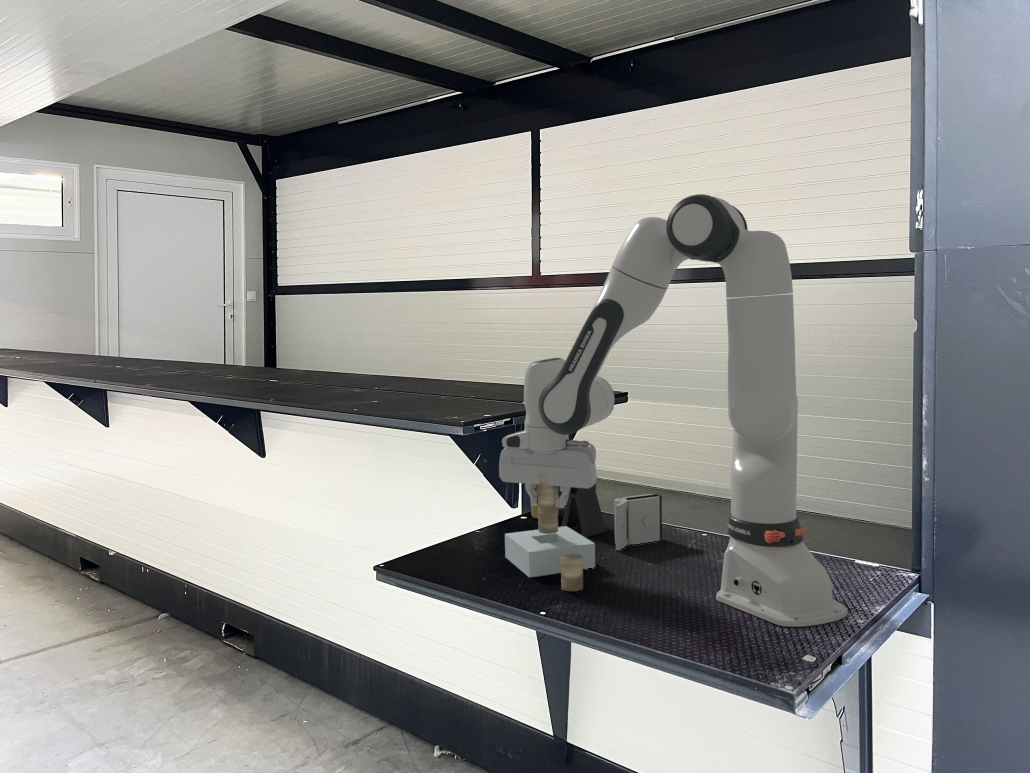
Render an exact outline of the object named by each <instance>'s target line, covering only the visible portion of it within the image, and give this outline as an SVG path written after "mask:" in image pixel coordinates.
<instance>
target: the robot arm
mask: <svg viewBox="0 0 1030 773" xmlns="http://www.w3.org/2000/svg"><path fill="white" fill-rule="evenodd" d="M788 254H789V253H788V251H787V246H786V244H785V242H784V240H783V238H782V237H781V236H780V235H778V234H776V233H775V232H774V233H773V232H771V231H766V230H748V223H747V221H746V218H745V217H744V215H743V213H742V212H741V210H739V209H738V208H737V207H735V206H733V205H732V204H730V203H729V202H728V201H726V200H725V199H722V198H720V197H716V196H711V195H709V194H703V193H702V194H701V193H700V194H699V193H698V194H693V195H689V196H687V197H685V198H683V199H681V200H680V201H679V202H677V203H676V204H675V205H674V206H673V207H672V209H671V210H670V211H669V214H668V217H667V219H664V218H662V217H655V216H649V217H643V218H641V219H639V220H638V221H637V222H636V223H634V225H633V227H632V228H631V229H630V231H629V232H628V235H627V236H626V237H625V239H624V241H623V243H622V244H621V246H620V248H619V250H618V252H617V255H616V256H615V259H614V260H613V262H612V266H611V267H610V270H609V272H608V275H607V276H606V279H605V281H604V283H603V286H602V289H601V290H600V293H599V295H598V298H597V299H596V301H595V302H594V303H595V304H594V305H593V307H592V309H591V312H590V313H589V315H588V317H587V318H586V320H585V322H584V324H583V326H582V327H581V330H580V332H579V333H578V336H576V339H575V342H574V344H573V345H572V348H571V350H570V352H569V353H568V355H567V357H566V360H565V359H564V358H560V357H552V358H547V359H546V358H545V359H541V360H536V361H533V362H531V363H530V364H529V365H528V366H526V371H525V374H524V382H523V383H524V384H523V403H524V404H523V405H524V408H525V419H524V429H523V430H519V431H516V432H514V433H511V434H508V435H506V436H504V437H503V438H502V439H501V443H502V447H503V449H502V450H501V453H500V454H499V455H500V456H499V461H498V462H499V463H498V464H499V466H498V476H499V479H500V480H501V481H502V482H504V483H514V484H516V483H517V484H524V489H525V491H526V493H527V494H528V496H529V498H530V506H531V505H533V506H538V496H537V495H536V493H535V490H534V487H535V484H539V483H540V474H542V475H548V484H549V485H551V486H558V487H559V492H561V494H560V496H558V498H557V499H555V503H556V504H555V507H556V508H558V509H564V508H566V498H567V496H569V491H570V487H575V488H590V487H592V486H593V485H594V484H595V483H596V484H597V481H598V480H597V479H598V478H597V469H596V468H597V467H596V459H597V450H596V447H595V446H594V445H593V444H592V443H590V441H588V440H574V439H569V435H572V434H574V433H577V432H579V431H580V430H582V429H584V428H586V427H590V426H592V425H595V424H596V423H600V422H601V421H604V420H605V419H607V418H608V417H609V416H610V415H611V414H612V412H613V410H614V407H615V403H616V401H615V399H616V397H615V393H614V389H613V387H612V385H611V384H610V383H609V382H608V381H607V380H606V379H605V378H603V377H600V376H599V373H600V371H601V369H602V367H603V365H604V363H605V361H606V360H607V357H608V355H609V354H610V352H611V350H612V348H613V347H614V345H615V344H616V343H617V342H618V341H620V339H621V338H623V337H624V336H625V335H626V334H628V333H630V332H631V331H632V330H634V329H635V328H637V327H639V326H641V325H643V324H644V323H645V322H648V321H649V320H650V318H651V317H652V316H653V315H654V313H655V312H656V310H657V309H658V307H659V306H660V304H661V303H662V301H663V299H664V296H665V294H666V292H667V290H668V288H669V285H670V284H671V280H672V279H673V276H674V274H675V272H676V270H677V269H678V267H679V266H680V265H682V263H684V262H685V261H687V260H692V261H699V262H706V263H707V262H708V263H709V262H710V263H717V264H718V265H719V266H720V267H721V269H722V271H723V273H724V274H723V275H724V278H725V280H724V281H725V296H726V318H727V319H726V320H727V342H728V344H727V345H728V350H727V404H728V406H727V408H728V419H729V422H730V425H731V427H732V429H733V436H732V437H733V438H732V454H731V456H732V457H731V468H730V473H731V474H730V513H728V520H727V528H728V529H727V533H728V535H729V536H730V537H729V542H728V544H727V548H726V550H725V552H724V553H723V554H724V555H723V562H722V564H723V565H722V572H721V573H722V574H721V586H720V590H719V591H717V592H716V596H715V600H716V601H718V602H719V603H723V604H725V605H728V606H730V607H732V608H734V609H738V610H740V611H742V612H745V613H747V614H750V615H752V616H755V617H757V618H760V619H762V620H765V621H767V622H769V623H772V624H775V625H777V626H781V627H791V628H792V627H798V628H799V627H809V626H811V627H812V626H818V625H823V624H829V623H833V622H837V621H840V620H841V619H844V618H845V617H847V616H848V615H849V611H848V610H849V609H848V608H847V606H845V605H843V604H842V603H840V602H839V601H837V600H836V599H835V598H833V588H832V587H833V586H832V581H831V577H830V575H829V574H828V572H827V568H826V567H825V566H824V565H822V564H820V563H819V561H818V560H817V559H816V558H815V556H814V555H813V553H812V552H811V551H810V549H809V548H808V547H807V546H806V544H805V542H804V539H805V538H804V535H808V533H807V532H804V531H807V530H808V528H807V527H801V523H800V520H799V517H798V516H797V483H798V481H797V478H798V476H797V474H798V472H797V469H798V466H797V465H798V418H799V416H798V414H799V410H798V408H799V404H798V403H799V401H798V396H797V378H796V374H797V373H796V372H797V371H796V339H795V314H794V312H795V311H794V309H795V308H794V294H793V293H794V289H793V278H792V271H791V264H790V263H791V262H790V258H789V255H788Z"/></svg>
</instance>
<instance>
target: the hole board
mask: <svg viewBox="0 0 1030 773" xmlns="http://www.w3.org/2000/svg"><path fill="white" fill-rule="evenodd" d="M504 548H505V549H504V552H505V554H504V555H505V556H504V558H506V559H507V560H508V561H509V562H510V563H511V564H513V565H514V566H515V567H516V568H517V569H518V570H520V571H521V572H522V573H524V574H525V575H526V576H527V577H528V578H534V577H535V578H536V577H542V576H550V575H556V574H561V556H563V555H566V554H578V555H581V556H582V557H583V569H585V570H589V569H588V568H592V569H595V568H596V544H595V543H594V542H593V541H592V540H590V539H588V538H587V537H583V536H582V535H580V534H578V533H577V532H575V531H574V530H572V529H570V528H569V527H567V526H563V527H561V526H558V532H556V533H552V534H544V533H540V532H539V531H538V529H534V530H533V529H532V530H524V531H514V532H508V533H504ZM594 567H595V568H594Z"/></svg>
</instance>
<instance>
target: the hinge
mask: <svg viewBox="0 0 1030 773" xmlns="http://www.w3.org/2000/svg"><path fill="white" fill-rule="evenodd" d="M662 499H663V498H662V495H659V494H657V493H648V494H638V495H632V496H630V495H629V496H623V497H621V498H619V497H618V498H615V499H614V508H613V510H614V545H615V544H616V545H615V551H616V550H621V549H622V548H624V547H625V546H626V545H628V544H629V545H630V544H640V543H647V542H653V541H659V540H660V539H662V540H663V531H662V530H663V525H662V524H663V523H662V521H663V519H662V518H663V515H662V513H663V511H662V506H663V505H662ZM660 541H661V540H660ZM653 543H654V542H653ZM647 544H648V543H647ZM640 545H641V544H640ZM624 549H625V548H624ZM621 551H622V550H621Z"/></svg>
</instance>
